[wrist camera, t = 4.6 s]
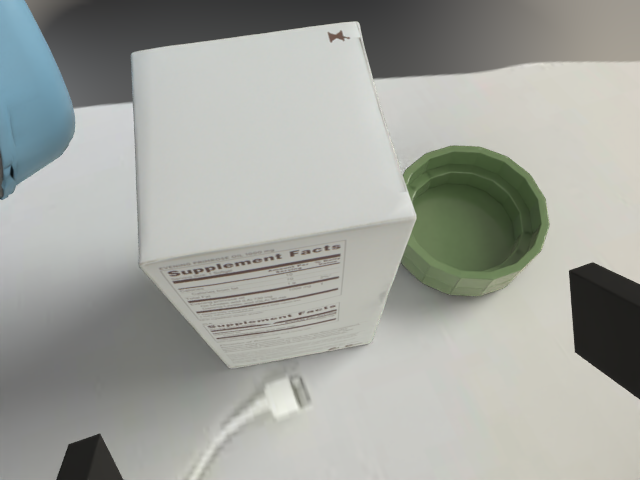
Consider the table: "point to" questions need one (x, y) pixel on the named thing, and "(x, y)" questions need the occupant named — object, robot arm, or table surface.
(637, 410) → the table surface
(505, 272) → the dish
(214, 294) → the supplement box
